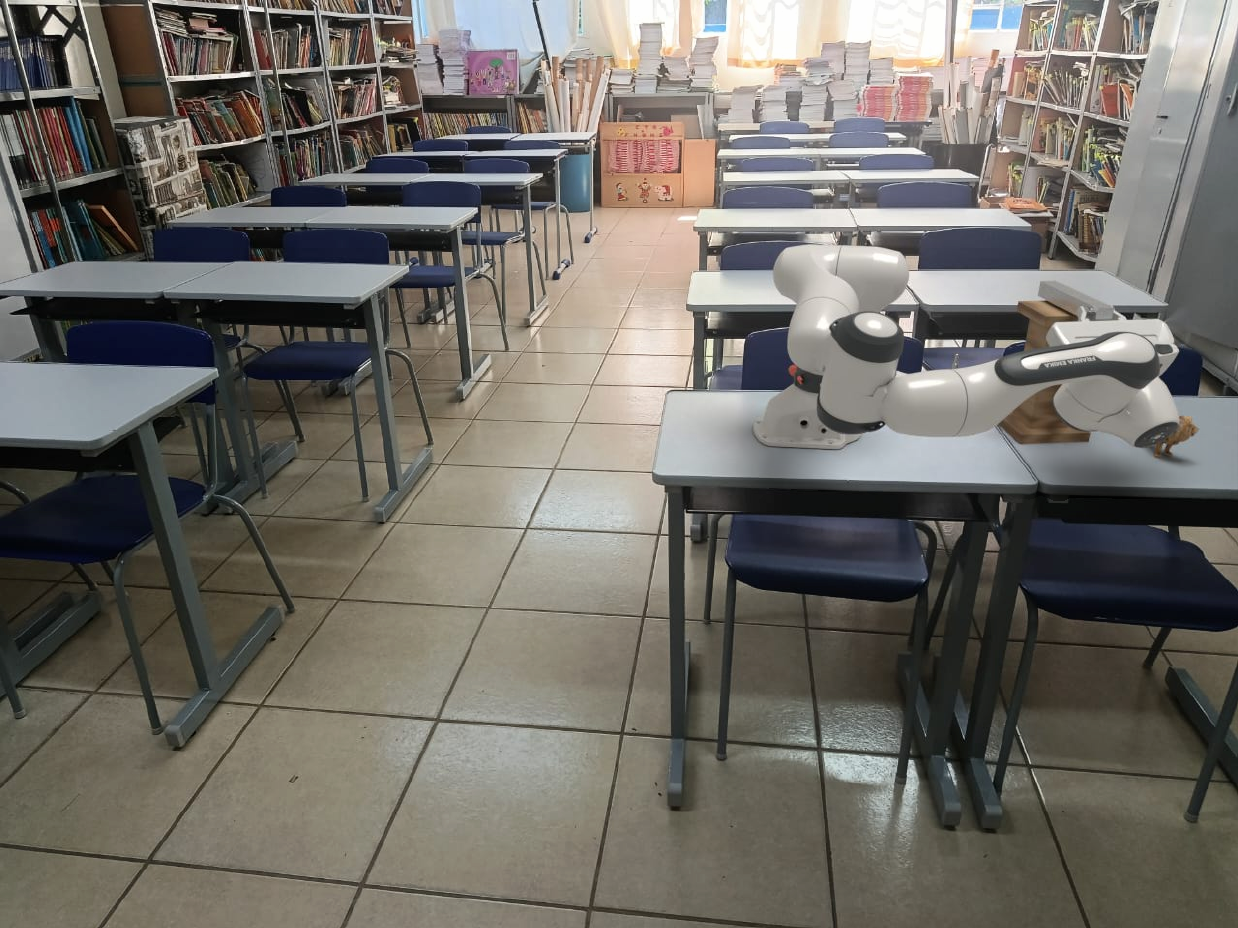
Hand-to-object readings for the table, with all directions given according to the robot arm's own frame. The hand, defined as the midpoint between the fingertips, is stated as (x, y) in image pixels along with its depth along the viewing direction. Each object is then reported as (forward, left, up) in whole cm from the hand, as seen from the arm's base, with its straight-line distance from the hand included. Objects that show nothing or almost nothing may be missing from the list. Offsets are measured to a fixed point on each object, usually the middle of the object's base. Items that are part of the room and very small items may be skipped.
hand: (1093, 308), depth 152 cm
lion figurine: (+18, -1, -29) cm, 34 cm away
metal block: (0, +7, -2) cm, 7 cm away
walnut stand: (0, +11, -29) cm, 31 cm away
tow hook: (-12, +27, -29) cm, 41 cm away
